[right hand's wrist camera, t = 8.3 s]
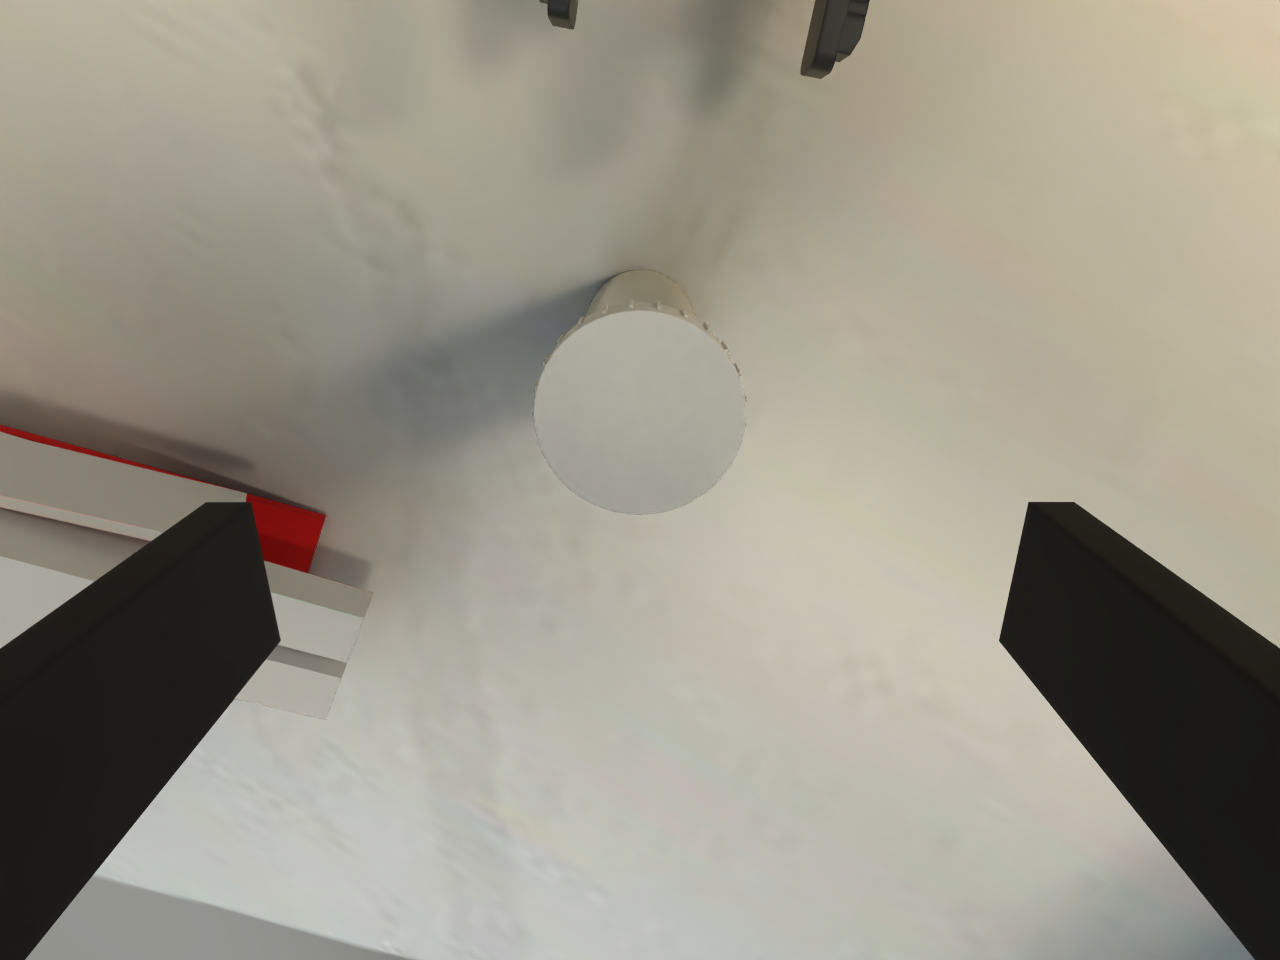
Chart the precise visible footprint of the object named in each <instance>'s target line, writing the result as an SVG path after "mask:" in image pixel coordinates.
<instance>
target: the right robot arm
mask: <svg viewBox="0 0 1280 960" xmlns="http://www.w3.org/2000/svg"><path fill="white" fill-rule="evenodd" d="M280 641H281V639H280V634H279V629H278V625H277V620H276V615H275V611H274V606H273V601H272V597H271V592H270V587H269V583H268V578H267V573H266V568H265V564H264V559H263V554H262V550H261V545H260V540H259V536H258V531H257V526H256V522H255V517H254V512H253V507H252V503H251V502H205V503H204V504H203V505H201V506H200V507H198V508H197V509H196V510H194V511H193V512H191V513H190V514H189V515H187V516H186V517H184V518H183V519H182V520H180V521H179V522H177V523H176V524H175V525H173V526H172V527H170V528H169V529H168V530H166V531H165V532H163V533H162V534H161V535H159V536H158V537H156V538H155V539H153V540H152V541H151V542H149V543H148V544H146V545H145V546H144V547H142V548H141V549H139V550H138V551H137V552H135V553H134V554H132V555H131V556H130V557H128V558H127V559H125V560H124V561H123V562H121V563H120V564H118V565H117V566H116V567H114V568H113V569H111V570H110V571H108V572H107V573H106V574H104V575H103V576H101V577H100V578H99V579H97V580H96V581H94V582H93V583H92V584H90V585H89V586H87V587H86V588H85V589H83V590H82V591H80V592H79V593H78V594H76V595H75V596H73V597H72V598H71V599H69V600H68V601H66V602H65V603H64V604H62V605H61V606H59V607H58V608H56V609H55V610H54V611H52V612H51V613H49V614H48V615H47V616H45V617H44V618H42V619H41V620H40V621H38V622H37V623H35V624H34V625H33V626H31V627H30V628H28V629H27V630H26V631H24V632H23V633H21V634H20V635H19V636H17V637H16V638H14V639H13V640H11V641H10V642H9V643H7V644H6V645H4V646H3V647H2V648H0V960H25V959H26V958H27V957H28V955H29V954H30V953H31V951H32V950H33V949H34V948H35V947H36V945H37V944H38V943H39V942H40V940H41V939H42V938H43V937H44V935H45V934H46V933H47V932H48V930H49V929H50V928H51V927H52V925H53V924H54V923H55V922H56V920H57V919H58V918H59V917H60V915H61V914H62V913H63V912H64V910H65V909H66V908H67V907H68V905H69V904H70V903H71V902H72V900H73V899H74V898H75V897H76V895H77V894H78V893H79V892H80V891H81V889H82V888H83V887H84V886H85V884H86V883H87V882H88V881H89V879H90V878H91V877H92V876H93V874H94V873H95V872H96V871H97V869H98V868H99V867H100V866H101V864H102V863H103V862H104V861H105V859H106V858H107V857H108V856H109V854H110V853H111V852H112V851H113V849H114V848H115V847H116V846H117V844H118V843H119V842H120V841H121V839H122V838H123V837H124V836H125V834H126V833H127V832H128V831H129V829H130V828H131V827H132V826H133V824H134V823H135V822H136V821H137V819H138V818H139V817H140V816H141V815H142V813H143V812H144V811H145V810H146V808H147V807H148V806H149V805H150V803H151V802H152V801H153V800H154V798H155V797H156V796H157V795H158V793H159V792H160V791H161V790H162V788H163V787H164V786H165V785H166V783H167V782H168V781H169V780H170V778H171V777H172V776H173V775H174V773H175V772H176V771H177V770H178V768H179V767H180V766H181V765H182V763H183V762H184V761H185V760H186V758H187V757H188V756H189V755H190V753H191V752H192V751H193V750H194V748H195V747H196V746H197V745H198V743H199V742H200V741H201V740H202V739H203V737H204V736H205V735H206V734H207V732H208V731H209V730H210V729H211V727H212V726H213V725H214V724H215V722H216V721H217V720H218V719H219V717H220V716H221V715H222V714H223V712H224V711H225V710H226V709H227V707H228V706H229V705H230V704H231V702H232V701H233V700H234V699H235V697H236V696H237V695H238V694H239V692H240V691H241V690H242V689H243V687H244V686H245V685H246V684H247V682H248V681H249V680H250V679H251V677H252V676H253V675H254V674H255V672H256V671H257V670H258V669H259V667H260V666H261V665H262V664H263V662H264V661H265V660H266V659H267V658H268V656H269V655H270V654H271V653H272V651H273V650H274V649H275V648H276V646H277V645H278V644H279V643H280ZM999 641H1000V643H1001V644H1002V645H1003V646H1004V648H1005V649H1006V650H1007V651H1008V653H1009V654H1010V655H1011V656H1012V658H1013V659H1014V660H1015V661H1016V662H1017V664H1018V665H1019V666H1020V667H1021V669H1022V670H1023V671H1024V672H1025V674H1026V675H1027V676H1028V677H1029V679H1030V680H1031V681H1032V682H1033V684H1034V685H1035V686H1036V687H1037V689H1038V690H1039V691H1040V692H1041V694H1042V695H1043V696H1044V697H1045V699H1046V700H1047V701H1048V702H1049V704H1050V705H1051V706H1052V707H1053V709H1054V710H1055V711H1056V712H1057V714H1058V715H1059V716H1060V717H1061V719H1062V720H1063V721H1064V722H1065V724H1066V725H1067V726H1068V727H1069V729H1070V730H1071V731H1072V732H1073V734H1074V735H1075V736H1076V737H1077V739H1078V740H1079V741H1080V742H1081V743H1082V745H1083V746H1084V747H1085V748H1086V750H1087V751H1088V752H1089V753H1090V755H1091V756H1092V757H1093V758H1094V760H1095V761H1096V762H1097V763H1098V765H1099V766H1100V767H1101V768H1102V770H1103V771H1104V772H1105V773H1106V775H1107V776H1108V777H1109V778H1110V780H1111V781H1112V782H1113V783H1114V785H1115V786H1116V787H1117V788H1118V790H1119V791H1120V792H1121V793H1122V795H1123V796H1124V797H1125V798H1126V800H1127V801H1128V802H1129V803H1130V805H1131V806H1132V807H1133V808H1134V810H1135V811H1136V812H1137V813H1138V815H1139V816H1140V817H1141V818H1142V819H1143V821H1144V822H1145V823H1146V824H1147V826H1148V827H1149V828H1150V829H1151V831H1152V832H1153V833H1154V834H1155V836H1156V837H1157V838H1158V839H1159V841H1160V842H1161V843H1162V844H1163V846H1164V847H1165V848H1166V849H1167V851H1168V852H1169V853H1170V854H1171V856H1172V857H1173V858H1174V859H1175V861H1176V862H1177V863H1178V864H1179V866H1180V867H1181V868H1182V869H1183V871H1184V872H1185V873H1186V874H1187V876H1188V877H1189V878H1190V879H1191V881H1192V882H1193V883H1194V884H1195V886H1196V887H1197V888H1198V889H1199V891H1200V892H1201V893H1202V894H1203V895H1204V897H1205V898H1206V899H1207V900H1208V902H1209V903H1210V904H1211V905H1212V907H1213V908H1214V909H1215V910H1216V912H1217V913H1218V914H1219V915H1220V917H1221V918H1222V919H1223V920H1224V922H1225V923H1226V924H1227V925H1228V927H1229V928H1230V929H1231V930H1232V932H1233V933H1234V934H1235V935H1236V937H1237V938H1238V939H1239V940H1240V942H1241V943H1242V944H1243V945H1244V947H1245V948H1246V949H1247V950H1248V952H1249V953H1250V954H1251V955H1252V957H1253V958H1254V959H1255V960H1280V648H1278V647H1277V646H1276V645H1274V644H1273V643H1271V642H1270V641H1269V640H1267V639H1266V638H1264V637H1263V636H1261V635H1260V634H1259V633H1257V632H1256V631H1254V630H1253V629H1252V628H1250V627H1249V626H1247V625H1246V624H1245V623H1243V622H1242V621H1240V620H1239V619H1238V618H1236V617H1235V616H1233V615H1232V614H1231V613H1229V612H1228V611H1226V610H1225V609H1224V608H1222V607H1221V606H1219V605H1218V604H1216V603H1215V602H1214V601H1212V600H1211V599H1209V598H1208V597H1207V596H1205V595H1204V594H1202V593H1201V592H1200V591H1198V590H1197V589H1195V588H1194V587H1193V586H1191V585H1190V584H1188V583H1187V582H1186V581H1184V580H1183V579H1181V578H1180V577H1179V576H1177V575H1176V574H1174V573H1173V572H1172V571H1170V570H1169V569H1167V568H1166V567H1164V566H1163V565H1162V564H1160V563H1159V562H1157V561H1156V560H1155V559H1153V558H1152V557H1150V556H1149V555H1148V554H1146V553H1145V552H1143V551H1142V550H1141V549H1139V548H1138V547H1136V546H1135V545H1134V544H1132V543H1131V542H1129V541H1128V540H1127V539H1125V538H1124V537H1122V536H1121V535H1119V534H1118V533H1117V532H1115V531H1114V530H1112V529H1111V528H1110V527H1108V526H1107V525H1105V524H1104V523H1103V522H1101V521H1100V520H1098V519H1097V518H1096V517H1094V516H1093V515H1091V514H1090V513H1089V512H1087V511H1086V510H1084V509H1083V508H1082V507H1080V506H1079V505H1077V504H1076V503H1075V502H1029V503H1028V507H1027V512H1026V517H1025V522H1024V526H1023V531H1022V536H1021V540H1020V545H1019V550H1018V554H1017V559H1016V564H1015V568H1014V573H1013V578H1012V583H1011V587H1010V592H1009V597H1008V601H1007V606H1006V611H1005V615H1004V620H1003V625H1002V629H1001V634H1000V639H999Z"/></svg>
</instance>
